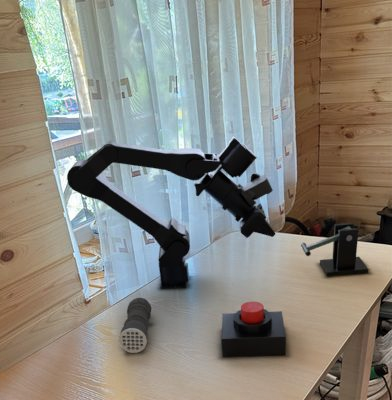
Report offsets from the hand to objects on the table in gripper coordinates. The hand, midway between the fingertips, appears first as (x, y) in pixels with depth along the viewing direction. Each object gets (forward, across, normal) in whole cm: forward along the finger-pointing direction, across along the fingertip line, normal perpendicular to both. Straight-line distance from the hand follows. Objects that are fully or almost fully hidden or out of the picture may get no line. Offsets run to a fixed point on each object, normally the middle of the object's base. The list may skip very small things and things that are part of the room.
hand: (274, 234), depth 123 cm
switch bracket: (+20, 0, -5) cm, 20 cm away
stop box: (+1, -32, +14) cm, 34 cm away
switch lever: (+12, 0, -7) cm, 14 cm away
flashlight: (-15, -24, +30) cm, 42 cm away
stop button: (-3, -32, +10) cm, 33 cm away
